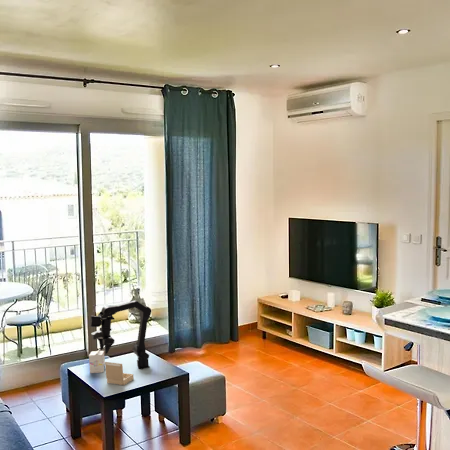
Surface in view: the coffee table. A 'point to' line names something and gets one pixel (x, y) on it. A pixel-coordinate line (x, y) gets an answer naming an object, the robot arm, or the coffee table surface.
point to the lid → (114, 371)
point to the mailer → (126, 379)
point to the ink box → (97, 361)
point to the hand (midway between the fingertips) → (103, 351)
